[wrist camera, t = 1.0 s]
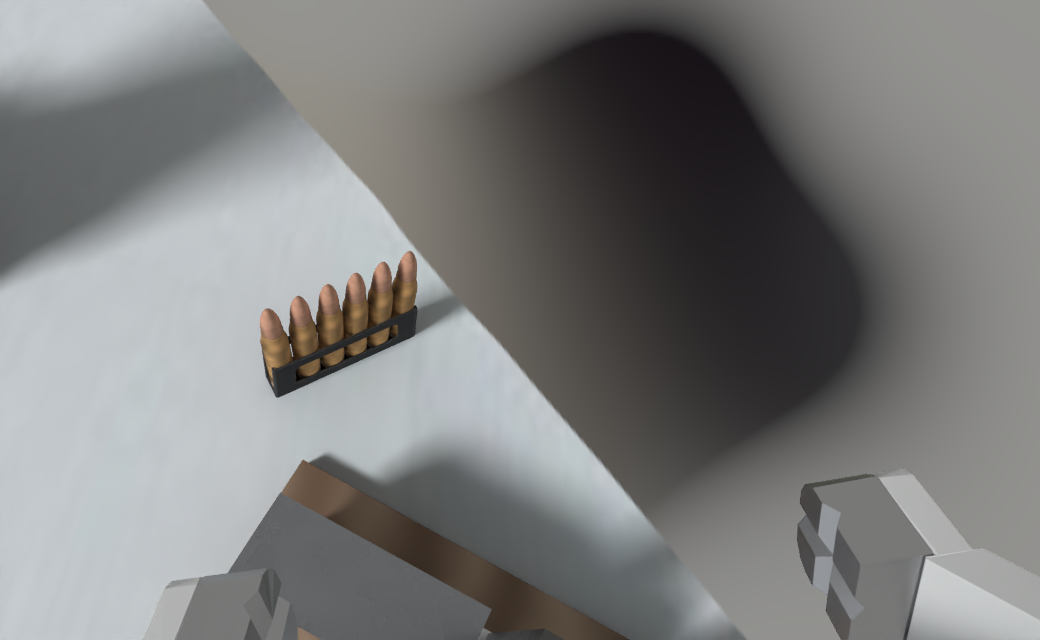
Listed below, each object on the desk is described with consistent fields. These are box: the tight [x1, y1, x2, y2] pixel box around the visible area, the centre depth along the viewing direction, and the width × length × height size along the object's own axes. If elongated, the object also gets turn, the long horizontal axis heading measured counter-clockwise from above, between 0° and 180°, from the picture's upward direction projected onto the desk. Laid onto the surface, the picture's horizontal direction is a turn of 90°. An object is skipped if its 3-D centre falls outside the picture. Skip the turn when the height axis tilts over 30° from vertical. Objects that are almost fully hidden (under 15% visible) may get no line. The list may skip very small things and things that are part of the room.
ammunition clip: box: [260, 251, 417, 397], centre depth 47 cm, size 11×2×12 cm, turn 121°
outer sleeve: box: [228, 493, 492, 640], centre depth 38 cm, size 12×5×5 cm, turn 64°
